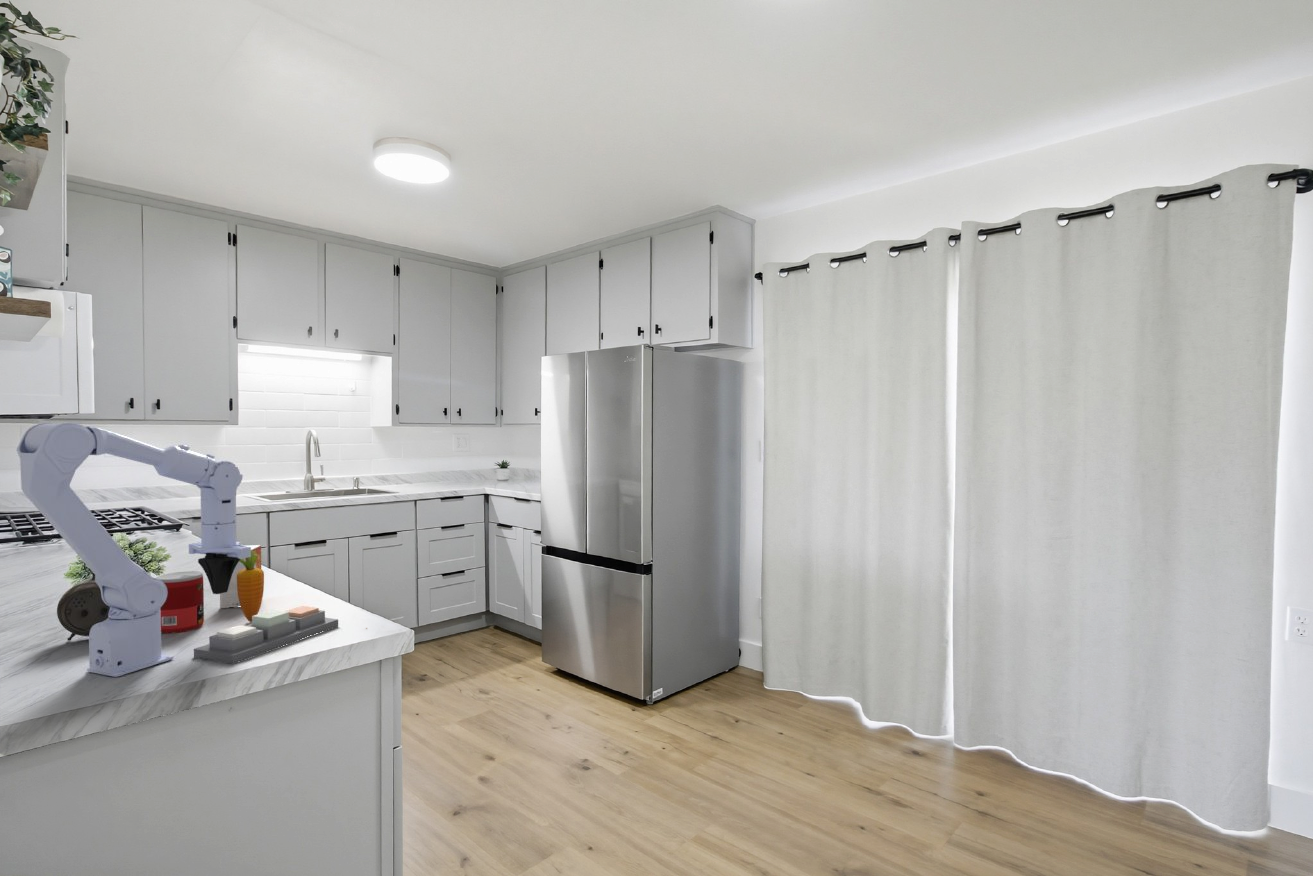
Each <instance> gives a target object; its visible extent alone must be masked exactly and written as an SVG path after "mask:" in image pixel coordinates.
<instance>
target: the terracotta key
mask: <svg viewBox="0 0 1313 876" xmlns="http://www.w3.org/2000/svg"><path fill="white" fill-rule="evenodd" d="M319 610H320V607H314V606H313V607H312V606H305V605H301V606H298V607H294V608H292V609H288V610H285V611H283V612H289V616H290V617H298V618H301V617H304V616H307V615H311V614H314V613H317V612H319Z"/></svg>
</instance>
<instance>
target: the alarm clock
mask: <svg viewBox="0 0 1313 876" xmlns="http://www.w3.org/2000/svg"><path fill="white" fill-rule="evenodd" d="M86 566H87V565H86V564H85V563H83V570H84V571H85V573H88V574H91V575H92V576H91V577H88V578H85V579H83V580H80V581H79V582H77V583H75V585H73V586H71V588H69V589H68V590H67V591H65V593H64V594H63V595H62V596H61V598H60V599H59V601H58V603H57V608H56V616H57V620H58V622H59V624H60V625H61V626H62V627H63V628H64V629H65V630H66V631H67V632H69V633H71V634H70V636H69V637H68V638H66V639H67V641H72V639H73V638H74V637H75V636H76V635H77V636H81V637H87V638H89V633H90V630H91V628H92V626H93V625H95V624H97V623H100V622H103V621H104V620H106V619H107V618H109V617H108V614H109V610H110V607H109V606H108V605H106V604H105V603H104V601H103V600H102V596H101V590H100V587H99V586H98V585H97V583H96V582H95V574H94V573H93V572H92V571H89V570H87V567H86Z"/></svg>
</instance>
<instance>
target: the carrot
mask: <svg viewBox="0 0 1313 876" xmlns="http://www.w3.org/2000/svg"><path fill="white" fill-rule="evenodd" d="M257 557H258V555H257V554H254V551H251V557H250V559H249V557H247V558H245V559H246V561H244V560H243V559H240V562H241V563H242V564H243V565H244V566H245V568H246V569H243V570H241V571H239V572H238V573H237V591H238V598H239V602H240V606H241V607H240V609H241V611H242V613H243V615H244V617H245V618H246V620H247V621H248V622H249V623H252V616H254V615H257V614H259V611H260V609H261V606H262V603H263V597H264V588H265V587H264V585H265V571H264V570H263V569H262V568H261V569H259V568H254V564H255V562H256V559H257Z"/></svg>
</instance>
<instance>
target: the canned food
mask: <svg viewBox="0 0 1313 876" xmlns="http://www.w3.org/2000/svg"><path fill="white" fill-rule="evenodd" d="M203 574H204V573H203V571H199V570H198V571H197V570H192V571H191V570H189V571H188V570H187V571H178V572H177V571H176V572H171V573H166V574H161V575H159V576H157V577H156V578H157V579H159V580H161V581H162V582H163V583H164V584H165V585H166V587H167V592H168V593H167V598H166V601H165V602H164V604H163V605H162V606H161V607H160V609H161V610H160V611H161V634H177V633H185V632H189V631H193V629H194V630H197V629H199V628H201V627H202V626H203V625H204V621H205V611H204V610H205V604H204V600H205V599H204V598H205V597H204V595H205V594H204V590H205V588H204V575H203ZM196 628H197V629H196Z"/></svg>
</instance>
